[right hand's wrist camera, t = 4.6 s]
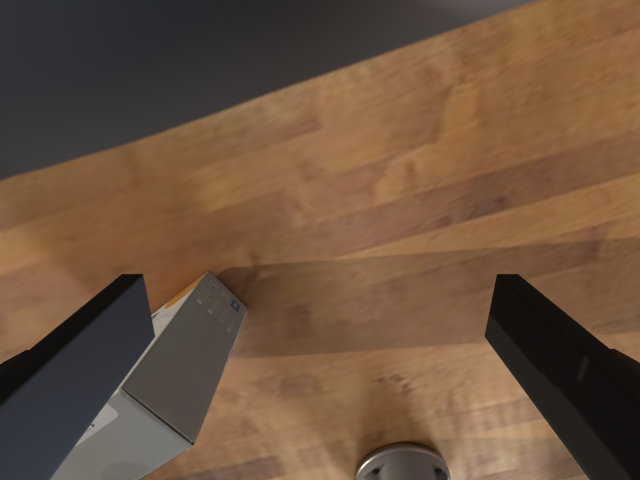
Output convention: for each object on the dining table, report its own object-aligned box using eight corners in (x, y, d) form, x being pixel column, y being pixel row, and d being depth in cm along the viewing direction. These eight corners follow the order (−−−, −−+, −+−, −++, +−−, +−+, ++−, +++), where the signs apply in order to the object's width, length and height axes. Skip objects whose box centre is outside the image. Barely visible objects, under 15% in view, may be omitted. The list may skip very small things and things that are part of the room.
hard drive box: (209, 267, 43) (123, 386, 24) (250, 308, 45) (200, 447, 26) (127, 331, 46) (-4, 480, 28) (169, 367, 48) (74, 527, 30)
